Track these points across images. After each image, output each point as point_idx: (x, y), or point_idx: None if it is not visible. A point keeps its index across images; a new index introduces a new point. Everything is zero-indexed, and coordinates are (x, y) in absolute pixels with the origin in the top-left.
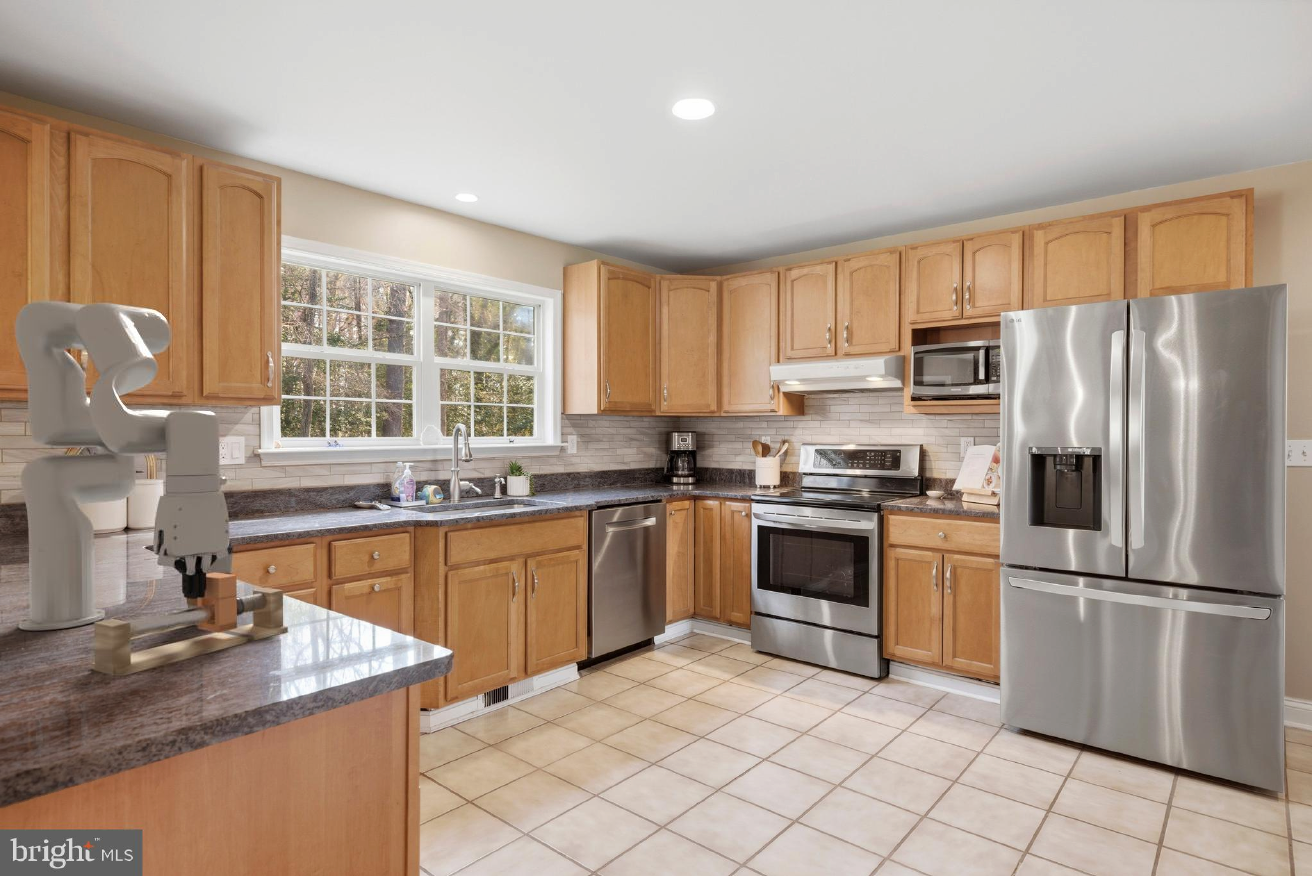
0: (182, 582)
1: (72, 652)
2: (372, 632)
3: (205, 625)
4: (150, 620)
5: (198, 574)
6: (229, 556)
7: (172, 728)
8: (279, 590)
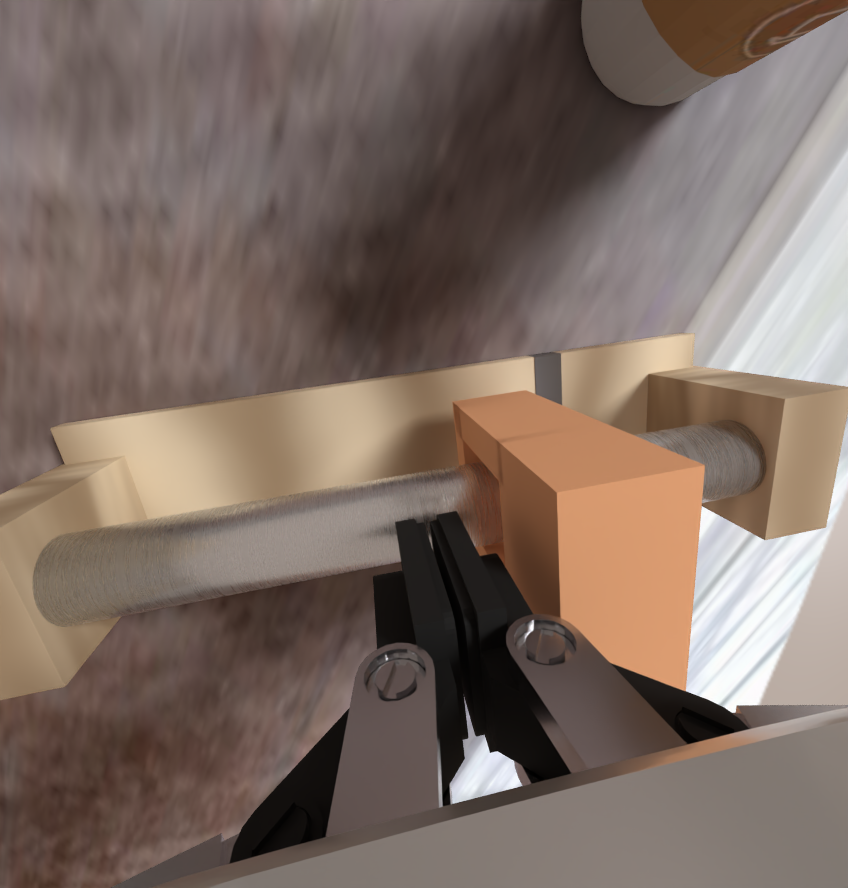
0: (376, 625)
1: (18, 35)
2: (750, 669)
3: (462, 460)
4: (189, 600)
5: (476, 725)
6: None
7: None
8: (817, 520)
